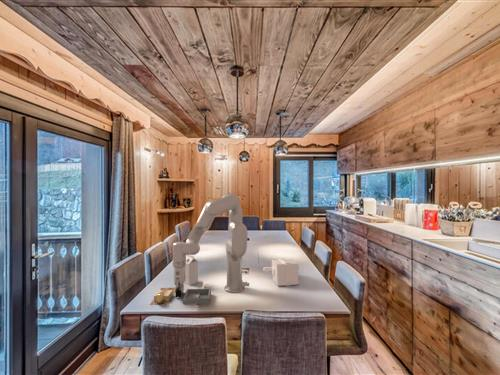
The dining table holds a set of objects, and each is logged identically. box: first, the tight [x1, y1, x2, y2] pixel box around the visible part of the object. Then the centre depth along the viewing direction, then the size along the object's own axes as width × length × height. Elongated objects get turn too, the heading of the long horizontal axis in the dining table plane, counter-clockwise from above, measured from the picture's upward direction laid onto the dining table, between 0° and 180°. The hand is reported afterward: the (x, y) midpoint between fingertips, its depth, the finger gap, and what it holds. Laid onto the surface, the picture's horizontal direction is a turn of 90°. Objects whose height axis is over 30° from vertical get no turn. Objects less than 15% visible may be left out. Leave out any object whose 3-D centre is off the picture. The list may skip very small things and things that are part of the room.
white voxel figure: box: [262, 257, 300, 287], centre depth 179 cm, size 15×25×28 cm
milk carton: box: [183, 255, 199, 286], centre depth 171 cm, size 7×7×19 cm
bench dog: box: [156, 292, 164, 306], centre depth 141 cm, size 4×4×5 cm
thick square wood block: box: [153, 289, 174, 301], centre depth 147 cm, size 8×8×3 cm
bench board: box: [149, 287, 176, 306], centre depth 150 cm, size 10×23×1 cm, turn 4°
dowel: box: [178, 284, 184, 297], centre depth 151 cm, size 4×4×7 cm
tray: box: [182, 287, 212, 306], centre depth 147 cm, size 14×14×4 cm
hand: (179, 293), depth 151 cm, fingers open, 6 cm apart
